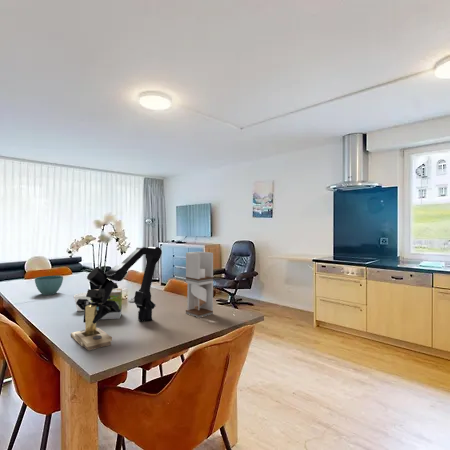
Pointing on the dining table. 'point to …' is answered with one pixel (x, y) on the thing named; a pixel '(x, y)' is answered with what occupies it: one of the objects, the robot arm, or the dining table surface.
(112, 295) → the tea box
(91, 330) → the brass pin
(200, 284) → the grey stand
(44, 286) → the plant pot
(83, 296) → the cup
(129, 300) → the adjustable wrench
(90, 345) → the wooden slotted base
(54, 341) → the dining table surface
